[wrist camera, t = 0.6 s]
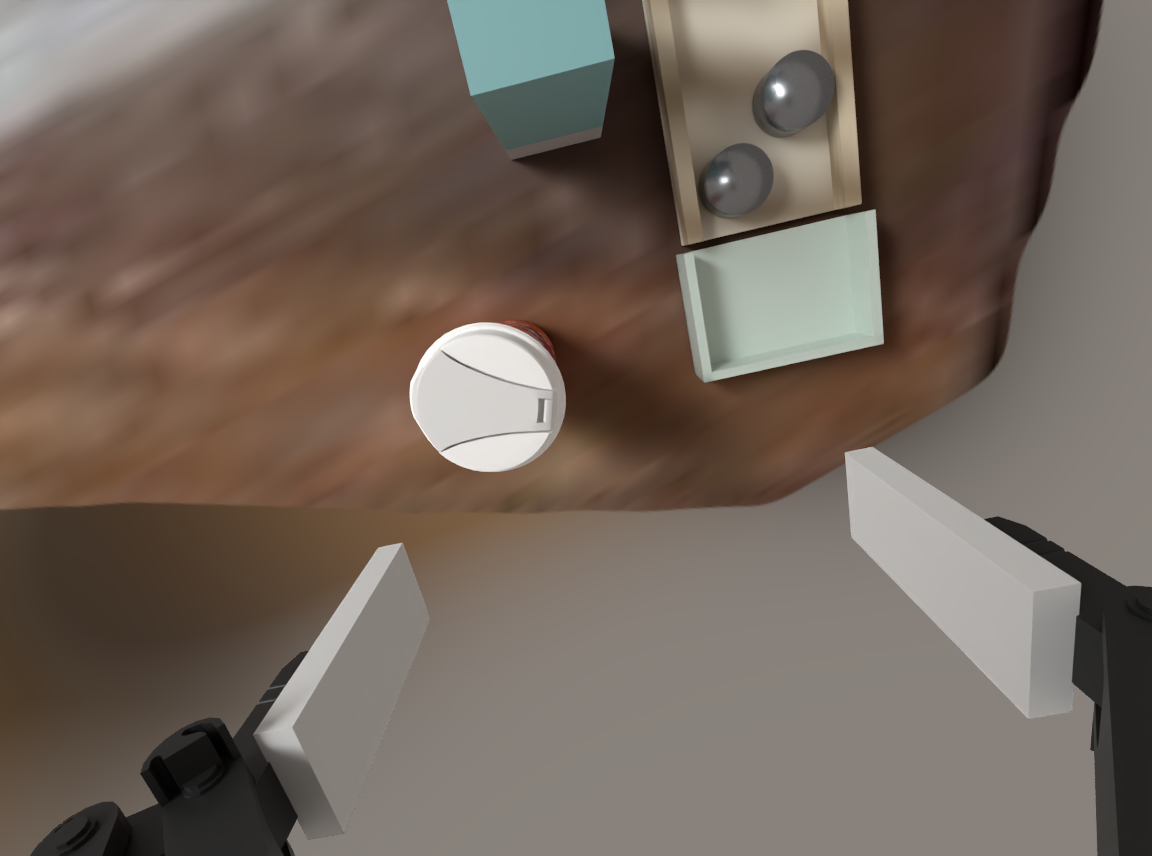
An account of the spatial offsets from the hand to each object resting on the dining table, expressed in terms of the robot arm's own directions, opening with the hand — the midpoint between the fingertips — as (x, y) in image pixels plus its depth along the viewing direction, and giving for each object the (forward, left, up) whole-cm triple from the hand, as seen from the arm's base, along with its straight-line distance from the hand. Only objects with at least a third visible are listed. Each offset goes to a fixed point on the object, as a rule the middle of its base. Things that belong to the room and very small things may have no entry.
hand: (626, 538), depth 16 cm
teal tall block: (-19, +1, -25) cm, 31 cm away
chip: (-11, +11, -24) cm, 28 cm away
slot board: (-17, +13, -25) cm, 32 cm away
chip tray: (-3, +13, -25) cm, 28 cm away
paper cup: (-3, -5, -25) cm, 26 cm away
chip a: (-15, +15, -24) cm, 32 cm away
